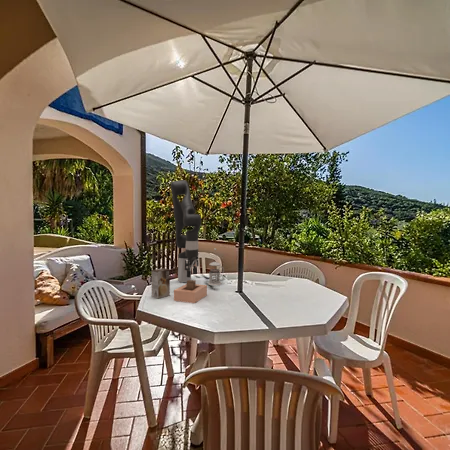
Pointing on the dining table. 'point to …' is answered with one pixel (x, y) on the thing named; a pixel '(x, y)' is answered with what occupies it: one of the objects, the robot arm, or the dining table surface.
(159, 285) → the coffee box
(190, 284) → the walnut post
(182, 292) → the orange rectangular frame
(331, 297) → the dining table surface
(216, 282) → the french press
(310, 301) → the dining table surface
